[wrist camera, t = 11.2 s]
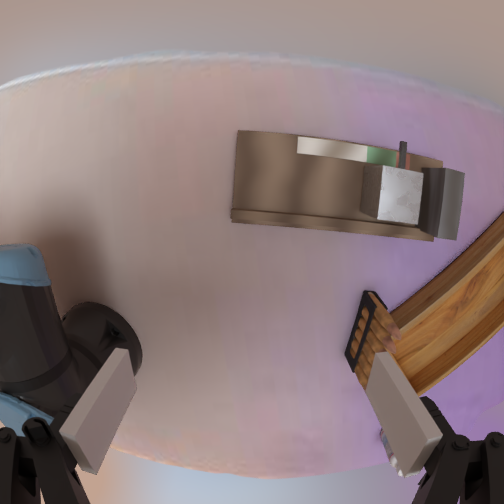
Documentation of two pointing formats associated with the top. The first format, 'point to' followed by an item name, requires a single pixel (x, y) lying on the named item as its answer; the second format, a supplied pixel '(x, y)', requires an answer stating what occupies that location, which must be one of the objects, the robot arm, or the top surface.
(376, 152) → the brown tray with block
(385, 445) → the pill bottle
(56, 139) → the top surface
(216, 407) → the top surface
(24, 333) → the robot arm
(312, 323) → the top surface
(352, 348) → the ammunition clip
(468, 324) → the tray
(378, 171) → the cube with dark rod
